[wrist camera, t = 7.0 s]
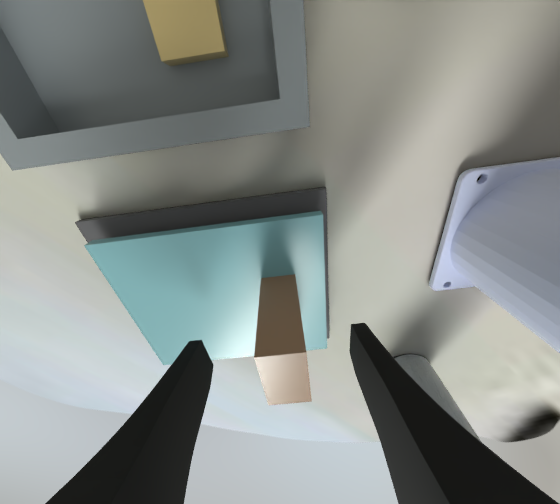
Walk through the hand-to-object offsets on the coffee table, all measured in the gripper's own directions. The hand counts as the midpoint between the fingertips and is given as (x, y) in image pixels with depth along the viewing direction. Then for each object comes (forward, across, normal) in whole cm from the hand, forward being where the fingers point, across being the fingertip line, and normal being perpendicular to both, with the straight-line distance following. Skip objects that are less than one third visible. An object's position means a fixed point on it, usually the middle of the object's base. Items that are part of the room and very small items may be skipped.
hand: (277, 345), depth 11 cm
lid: (+4, +3, 0) cm, 5 cm away
